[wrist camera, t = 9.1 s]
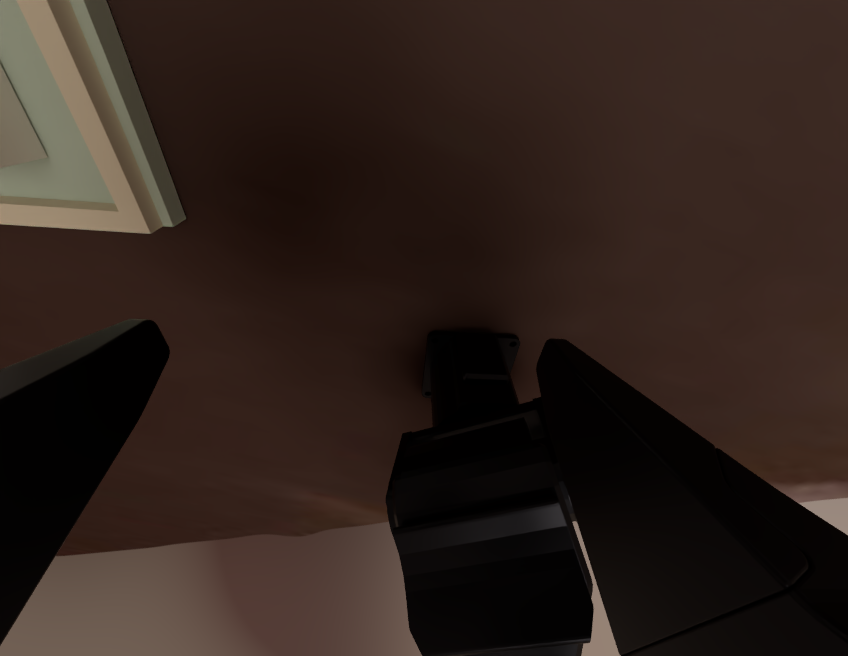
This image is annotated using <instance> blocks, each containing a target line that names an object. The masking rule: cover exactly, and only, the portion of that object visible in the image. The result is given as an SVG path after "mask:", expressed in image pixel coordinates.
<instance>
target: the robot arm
mask: <svg viewBox="0 0 848 656" xmlns="http://www.w3.org/2000/svg"><path fill="white" fill-rule="evenodd" d="M433 338H438V339H436V340H434V339H433ZM513 341H514V343H511V342H513ZM519 346H520V341H519V338H518V337H517V336H515V335H501V334H481V333H460V332H439V331H434V332H431V333H429V335H428V339H427V348H426V357H425V366H424V375H423V384H422V395H423V396H424V397H426V398H431V402H432V421H433V427H432V428H428V429H424V430H420V431H416V432H413V433H412V432H407V433H403V434H402V438H401V441H400V445H399V449H398V452H397V456H396V459H395V463H394V467H393V470H392V474H391V478H390V481H389V486H388V491H387V494H386V504H387V513H388V518H389V524H390V528H391V532H392V534H393V537H394V540H395V543H396V546H397V549H398V552H399V556H400V560H401V566H402V571H403V575H404V583H405V591H406V600H407V610H408V621H409V628H410V632H411V634H412V636H413V638H414V640H415V642H416V644H417V646H418V648H419V650H420V652H421V654H422V656H581V653H582V648H583V643H590V640H591V633H592V621H593V603H592V600H591V596H592V588H593V584H592V579H591V576H590V573H589V570H588V567H587V564H586V561H585V558H584V555H583V552H582V549H581V547H580V544H579V541H578V538H577V535H576V532H575V529H574V526H573V523H572V522H573V521H576V522H577V523H578V526H579V529H580V532H581V535H582V538H583V542H584V545H585V548H586V551H587V554H588V557H589V560H590V564H591V567H592V570H593V573H594V576H595V579H596V582H597V586H598V589H599V592H600V595H601V598H602V601H603V604H604V608H605V610H606V614H607V617H608V620H609V623H610V626H611V629H612V633H613V636H614V639H615V642H616V645H617V648H618V652H619V654H620V655H621V656H848V535H846V534H845V533H843V532H842V531H840V530H838V529H837V528H835V527H834V526H832V525H831V524H829V523H828V522H826V521H824V520H823V519H822V518H820V517H818V516H817V515H815V514H814V513H812V512H811V511H809V510H808V509H806V508H805V507H803V506H802V505H800V504H799V503H797V502H796V501H794V500H793V499H791V498H789V497H788V496H786V495H785V494H783V493H782V492H780V491H779V490H777V489H776V488H774V487H773V486H771V485H770V484H769V483H767V482H766V481H764V480H763V479H761V478H760V477H758V476H757V475H756V474H754V473H753V472H751V471H750V470H748V469H747V468H746V467H744V466H743V465H741V464H740V463H738V462H737V461H736V460H734V459H733V458H731V457H730V456H729V455H727V454H726V453H724V452H723V451H722V450H720V449H718V448H715V446H714V445H713V444H712V443H710V442H709V441H707V440H706V439H705V438H703V437H702V436H700V435H699V434H698V433H696V432H695V431H693V430H692V429H691V428H689V427H688V426H686V425H685V424H684V423H682V422H681V421H679V420H678V419H677V418H675V417H674V416H672V415H671V414H670V413H668V412H667V411H665V410H664V409H663V408H661V407H660V406H658V405H657V404H656V403H654V402H653V401H651V400H650V399H649V398H647V397H646V396H644V395H643V394H642V393H640V392H639V391H637V390H636V389H635V388H633V387H632V386H630V385H629V384H628V383H626V382H625V381H623V380H622V379H621V378H619V377H618V376H616V375H615V374H614V373H612V372H611V371H609V370H608V369H607V368H605V367H604V366H602V365H601V364H599V363H598V362H597V361H595V360H594V359H592V358H591V357H590V356H588V355H587V354H585V353H584V352H583V351H581V350H580V349H578V348H577V347H576V346H574V345H573V344H571V343H570V342H569V341H567V340H565V339H548V340H547V341H546V343H545V345H544V347H543V350H542V352H541V355H540V357H539V360H538V362H537V368H536V371H537V377H538V382H539V387H540V393H541V397H539V398H535V399H533V401H530V402H526V403H523V404H519V401H518V398H517V395H516V392H515V389H514V386H513V382H512V379H511V376H510V372H511V369H512V366H513V363H514V361H515V358H516V355H517V352H518V349H519ZM169 354H170V350H169V346H168V344H167V343H166V341H165V339H164V337H163V335H162V333H161V331H160V329H159V327H158V326H157V324H156V323H155V322H154V321H152V320H147V319H129V320H126V321H123V322H121V323H118V324H116V325H113V326H111V327H108V328H106V329H103V330H100V331H98V332H95V333H93V334H90V335H88V336H85V337H83V338H80V339H77V340H75V341H72V342H70V343H67V344H65V345H62V346H60V347H57V348H54V349H52V350H49V351H47V352H44V353H42V354H39V355H36V356H34V357H31V358H29V359H26V360H24V361H21V362H19V363H16V364H13V365H11V366H8V367H6V368H3V369H1V370H0V645H1V644H2V642H3V640H4V639H5V637H6V636H7V634H8V632H9V631H10V629H11V627H12V626H13V624H14V623H15V621H16V619H17V618H18V616H19V614H20V613H21V611H22V610H23V608H24V606H25V605H26V603H27V601H28V600H29V598H30V596H31V595H32V593H33V592H34V590H35V588H36V587H37V585H38V583H39V582H40V580H41V579H42V577H43V575H44V574H45V572H46V570H47V569H48V567H49V566H50V564H51V562H52V561H53V559H54V557H55V556H56V554H57V553H58V551H59V549H60V548H61V546H62V544H63V543H64V541H65V539H66V538H67V536H68V535H69V533H70V531H71V530H72V528H73V526H74V525H75V523H76V522H77V520H78V518H79V517H80V515H81V513H82V512H83V510H84V509H85V507H86V505H87V504H88V502H89V500H90V499H91V497H92V495H93V494H94V492H95V491H96V489H97V487H98V486H99V484H100V482H101V481H102V479H103V478H104V476H105V474H106V473H107V471H108V469H109V468H110V466H111V465H112V463H113V461H114V460H115V458H116V456H117V455H118V453H119V451H120V450H121V448H122V447H123V445H124V443H125V442H126V440H127V438H128V437H129V435H130V434H131V432H132V430H133V429H134V427H135V425H136V424H137V422H138V420H139V418H140V417H141V415H142V413H143V411H144V409H145V407H146V405H147V403H148V401H149V398H150V396H151V394H152V392H153V390H154V388H155V386H156V384H157V382H158V379H159V377H160V375H161V373H162V371H163V369H164V367H165V365H166V363H167V361H168V358H169ZM428 391H429V392H428Z"/></svg>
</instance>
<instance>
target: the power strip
mask: <svg viewBox="0 0 848 656" xmlns="http://www.w3.org/2000/svg"><path fill="white" fill-rule="evenodd" d="M43 158H47V155H46V153H45V151H44V149H43V147H42V145H41V143H40V141H39V139H38V137H37V135H36V133H35V131H34V129H33V127H32V125H31V124H30V122H29V120H28V118H27V116H26V114H25V112H24V110H23V108H22V106H21V104H20V102H19V100H18V98H17V96H16V94H15V92H14V90H13V88H12V86H11V84H10V82H9V80H8V78H7V76H6V74H5V72H4V70H3V68H2V67H1V65H0V168H3V167H7V166H12V165H16V164H21V163H25V162H29V161H34V160H38V159H43Z"/></svg>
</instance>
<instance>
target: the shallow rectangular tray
mask: <svg viewBox="0 0 848 656" xmlns="http://www.w3.org/2000/svg"><path fill="white" fill-rule="evenodd" d="M0 65H1V67H2V68H3V70H4V72H5V74H6V76H7V78H8V80H9V82H10V84H11V86H12V88H13V90H14V92H15V94H16V96H17V98H18V100H19V102H20V104H21V106H22V108H23V110H24V112H25V114H26V116H27V118H28V120H29V122H30V124H31V125H32V127H33V129H34V131H35V133H36V135H37V137H38V139H39V141H40V143H41V145H42V147H43V149H44V151H45V153H46V155H47V158H43V159H38V160H34V161H29V162H25V163H21V164H16V165H12V166H7V167H3V168H0V224H8V225H23V226H38V227H54V228H69V229H85V230H100V231H116V232H131V233H147V234H151V233H153V232H155V231H156V230H158V229H159V228H161V227H163V226H167V227H174V226H176V225H177V224H179V223H180V222H182V221H184V220H185V219H186V216H185V214H184V211H183V208H182V205H181V203H180V200H179V197H178V195H177V192H176V189H175V186H174V184H173V181H172V178H171V175H170V173H169V170H168V167H167V164H166V162H165V159H164V156H163V154H162V151H161V148H160V145H159V143H158V140H157V137H156V134H155V132H154V129H153V126H152V124H151V121H150V118H149V115H148V113H147V110H146V107H145V104H144V102H143V99H142V96H141V93H140V91H139V88H138V85H137V83H136V80H135V77H134V74H133V72H132V69H131V66H130V63H129V61H128V58H127V55H126V53H125V50H124V47H123V44H122V42H121V39H120V36H119V33H118V31H117V28H116V25H115V22H114V20H113V17H112V14H111V12H110V9H109V6H108V3H107V1H106V0H0Z"/></svg>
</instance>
